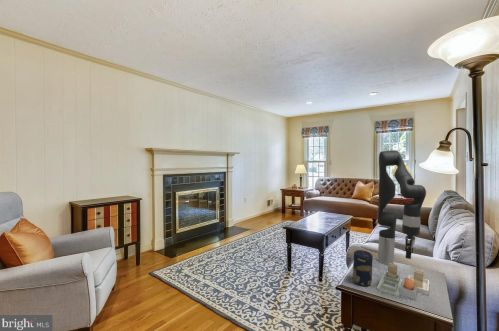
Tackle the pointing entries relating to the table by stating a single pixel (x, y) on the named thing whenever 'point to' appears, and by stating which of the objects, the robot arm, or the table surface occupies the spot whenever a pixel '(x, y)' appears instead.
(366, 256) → the canister
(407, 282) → the button
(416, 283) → the billet
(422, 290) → the pale shallow tray
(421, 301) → the table surface
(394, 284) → the board
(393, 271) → the billet
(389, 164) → the robot arm
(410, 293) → the console
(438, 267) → the table surface
